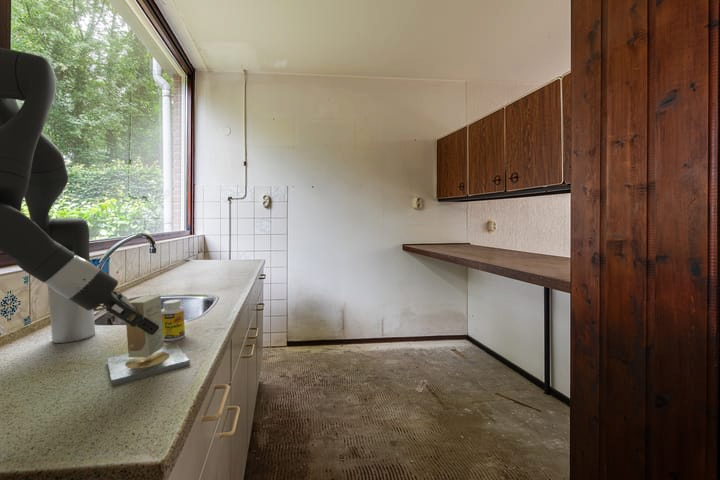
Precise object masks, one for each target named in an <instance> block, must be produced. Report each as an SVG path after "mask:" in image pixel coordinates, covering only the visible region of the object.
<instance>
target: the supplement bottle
mask: <svg viewBox="0 0 720 480" xmlns="http://www.w3.org/2000/svg"><path fill="white" fill-rule="evenodd" d="M162 307H163V308H161V311H162V325H163V340H164V342H173V341H174V342H175V341H178V340H181V339H183V338H184V337H185V335H186V334H185V333H186V331H185V314H184V313H185V310H184V307H183V306H181V301H180V300H179V299H169V300H165V301H163V306H162Z"/></svg>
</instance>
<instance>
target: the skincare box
mask: <svg viewBox="0 0 720 480" xmlns="http://www.w3.org/2000/svg"><path fill="white" fill-rule="evenodd" d="M161 300H162V299H161V295H142V296H140V297H135V298H134V299H132V300H131V301H129V302H130V303H131V304H133V305H134V306H135V307H137V308H138V312H139V313H141V314H143V315H145V317H146V318H147V319H149V320H150V321H152V322H154V323H155V324H157V325H158V326H159V329H158V330H157V331H156V332H155V333H154V334H153V335H150V334H149V333H147V332H145V331H144V330H142V329H140V328H139V327H132V326H130V324H128V323H127V322H125V324H126V325H125V326H126V327H125V328H126V337H127V341H126V342H127V352H128V353H127V354H128V355H129V357H149V356H150V355H152V354H153V353H155V352H156V351H158V350H159V349H161V348H162V347H164V345H165V343H164V342H165V341H164V340H163V325H162V311H161V310H162V301H161ZM135 317H136V315H135V314H134V315H133V316H132V317H131V318H130V319H131V320H133V319H134V318H135Z"/></svg>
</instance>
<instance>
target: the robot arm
mask: <svg viewBox="0 0 720 480" xmlns="http://www.w3.org/2000/svg"><path fill="white" fill-rule="evenodd" d="M56 93H57V77H56V74H55V71H54V67H53V66H52V64H51V63H50V61H49V60H48V59H47V58H45V57H43V56H40V55H39V54H34V53H30V52H26V51H24V52H23V51H18V50H14V49H10V48H9V49H8V48H3V47H0V251H1V252H2V253H4V254H5V255H7V256H9V257H10V258H12V259H13V260H15V262H16V264H17V266H18V267H19V269H21V270H23V271H24V272H25V273H27V274H29V275H30V276H32V277H33V278H35V279H37V280H39V281H40V282H42V283H44V284H45V285H47V293H48V295H47V296H48V304H49V306H48V307H49V315H50V316H49V317H50V329H51V330H50V331H51V340H52V343H55V344H63V343H64V344H65V343H70V342H72V343H73V342H77V341H81V340H85V339H88V338H90V337H93V336H94V335H95V334H96V326H95V323H96V322H95V313H94V311H95V310H94V309H96V308H97V307H98V306H100V305H103V306H104V307H105V311H106V313H109V314H110V315H112V316H114V317H116V318H118V319H119V320H121V322H125V323H126V322H127V323H128V324H130V326H132V327H139V328H140V329H142V330H144V331H145V332H147V333H149V334H150V335H153V334H154V333H155V332H156V331H157V330H158V329H159V326H158V325H157V324H155V323H154V322H152V321H150V320H149V319H147V318H146V317H145V315H143V314H141V313H139V312H138V308H137V307H135V306H134V305H133V304H131V303H130V302H129V301H131V300H130V299H129V298H128V297H127V296H125V295H124V294H122V293H118V292H117V291H115V289H116V288H117V286H118V284H119V281H118V280H117V279H116V278H114V277H112V276H111V275H110V274H108V273H107V272H106V271H104V270H102V269H101V268H99V267H97V266H96V265H95V264H94V263H92V262H91V261H90V259H91V257H90V256H91V255H90V229H89V224H88V222H87V221H86V220H85V219H84V218H81V217H80V218H79V217H76V218H75V217H74V218H73V217H69V218H68V217H64V218H63V217H60V218H58V217H57V218H52V217H51V216H50V211H51V208H52V207H53V204H55V202H56V200H58V198H59V197H60V196H61V194H62V193H63V191H65V188H66V186H67V184H68V182H69V175H68V170H67V167H66V162H65V159H64V156H63V154H62V152H61V151H60V149H59V148H58V147H57V145H55V143H53V142H52V140H50V138H49V137H47V136H46V135H45V134H44V133H43V130H44V129H45V128H44V127H45V125H46V122H47V120H48V117H49V115H50V112H51V109H52V106H53V104H54V101H55V97H56ZM18 101H23V103H22V105H21V106H20V105H19V102H18ZM23 200H25V201H24V202H25V203H26V207H27V210H28V214H29V217H28V216H27V215H26V214H25V213H23V212H22V204H23ZM134 314H135V315H136V317H135V318H134V319H133V320H131V319H130V318H131V317H132V316H133V315H134Z"/></svg>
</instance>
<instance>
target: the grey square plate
mask: <svg viewBox="0 0 720 480" xmlns="http://www.w3.org/2000/svg"><path fill="white" fill-rule="evenodd" d="M106 361H107V367H108V373H109V377H110V385H111V386H112V387H114V386H119V385H122V384H126V383H130V382H132V381H137V380H141V379H144V378H148V377H151V376H155V375H160V374H164V373H166V372H170V371H174V370H179V369H181V368H184V367H185V368H186V367H188V366H191V362H190V361H191V360H190V359H189V358H188V356H187V355H186V354H185V353H184V351H183V350H182V348H181V347H180V346H179V344H178V343H176V342H174V343H173V342H172V343H168V344H164V347H162V348H161V349H159V350H158V351H156V352H155V353H153V354H152V355H150V356H149V357H129V355H128V353H124V354H120V355H116V356H111V357H107V358H106Z"/></svg>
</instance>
